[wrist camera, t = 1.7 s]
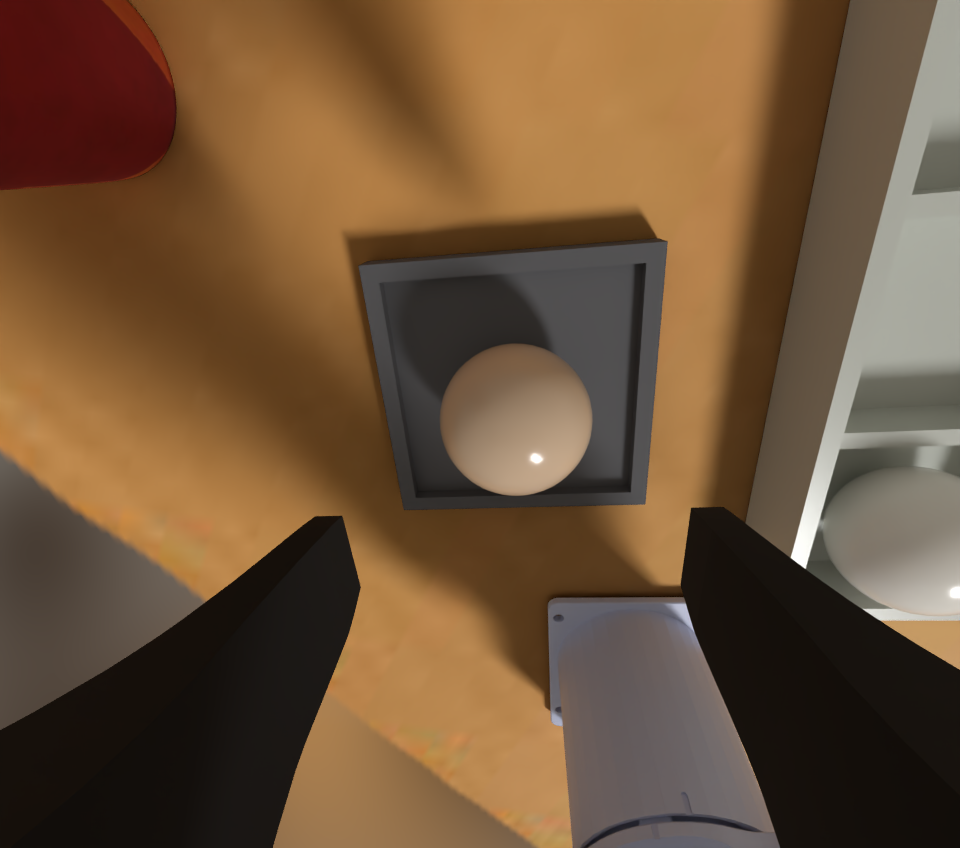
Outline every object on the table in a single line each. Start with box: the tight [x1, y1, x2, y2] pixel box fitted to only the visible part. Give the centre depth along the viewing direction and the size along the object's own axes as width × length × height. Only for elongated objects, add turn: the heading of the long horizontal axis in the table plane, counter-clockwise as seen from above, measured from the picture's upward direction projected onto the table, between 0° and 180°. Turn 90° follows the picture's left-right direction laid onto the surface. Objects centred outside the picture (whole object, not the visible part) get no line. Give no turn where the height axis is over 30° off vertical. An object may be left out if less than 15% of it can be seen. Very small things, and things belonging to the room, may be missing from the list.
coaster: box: [359, 238, 668, 510], centre depth 18 cm, size 10×10×1 cm
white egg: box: [823, 466, 960, 616], centre depth 16 cm, size 5×5×5 cm
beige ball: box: [440, 344, 593, 496], centre depth 16 cm, size 5×5×5 cm
